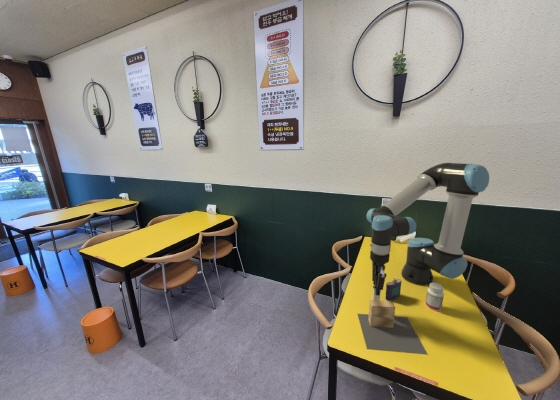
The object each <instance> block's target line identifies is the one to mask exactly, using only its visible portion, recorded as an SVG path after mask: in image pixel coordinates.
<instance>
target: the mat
mask: <svg viewBox="0 0 560 400" xmlns="http://www.w3.org/2000/svg"><path fill="white" fill-rule="evenodd" d="M357 317H358V321H359V326H360V329H361V333H362V336H363V340H364V343H365V347H366V350H371V351H372V350H374V351H382V352H383V351H384V352H395V353H407V354H417V355H428V352H427V350H426V348H425V347H424V345H423V343H422V342H421V339H420V337H419V335H418V334H417V332H416V330H415V329H414V327H413V325H412V323H411V321H410V320H409V318H408V316H398V315H394V325H393V328H389V327H376V326H370V323H369V320H368V318H369V313H357Z"/></svg>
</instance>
